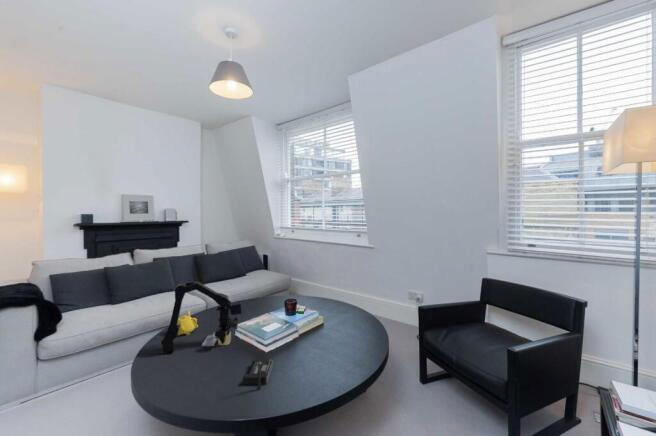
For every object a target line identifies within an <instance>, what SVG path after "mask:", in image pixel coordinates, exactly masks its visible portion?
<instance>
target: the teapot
mask: <svg viewBox="0 0 656 436" xmlns="http://www.w3.org/2000/svg"><path fill="white" fill-rule="evenodd" d="M197 321H198V319H197V318H196V317H191V310H189V311H188V312H187V314H186V315H182V316H181V317H179V319H178V325H180V327H179V333H178V336H179V337H180V336H181V335H184V334H186V336H189V335H190V334H191V332H193V331H194V330H195V329H197V328H198V327H199V325H198V324H197Z"/></svg>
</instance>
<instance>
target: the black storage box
mask: <svg viewBox="0 0 656 436" xmlns="http://www.w3.org/2000/svg"><path fill="white" fill-rule="evenodd" d="M257 356H258V357H257V359H254V358H253V359H252V361H251V363H250V366H249V368H248V371H247V373H246V374H245V376H244V386H245V385H247V386H248V385H250V386H251V385H252V386H253V385H255V386H257V388H258V391H260V390H261V389H262V385H267V384H268V381H269V378H270V375H271V373H272V369H273V365H274V359H273V358H262V359H261V358H260V354H259V353H258V354H257Z"/></svg>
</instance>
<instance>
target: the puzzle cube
mask: <svg viewBox="0 0 656 436" xmlns="http://www.w3.org/2000/svg"><path fill="white" fill-rule="evenodd" d="M296 306H297V310H296V313H298V314H304V312H305V311H306V312H307V306H306V305H305V306H304V305H303V306H298V305H296Z"/></svg>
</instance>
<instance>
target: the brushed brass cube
mask: <svg viewBox="0 0 656 436" xmlns="http://www.w3.org/2000/svg"><path fill="white" fill-rule="evenodd" d="M231 341H232V331H231V330H229V331H227V334H226V336H225V339H224V344H222V343H221V342H220V340H219V338H218V337H217V344H218V346H228V345H229V344H230V343H231Z"/></svg>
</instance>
